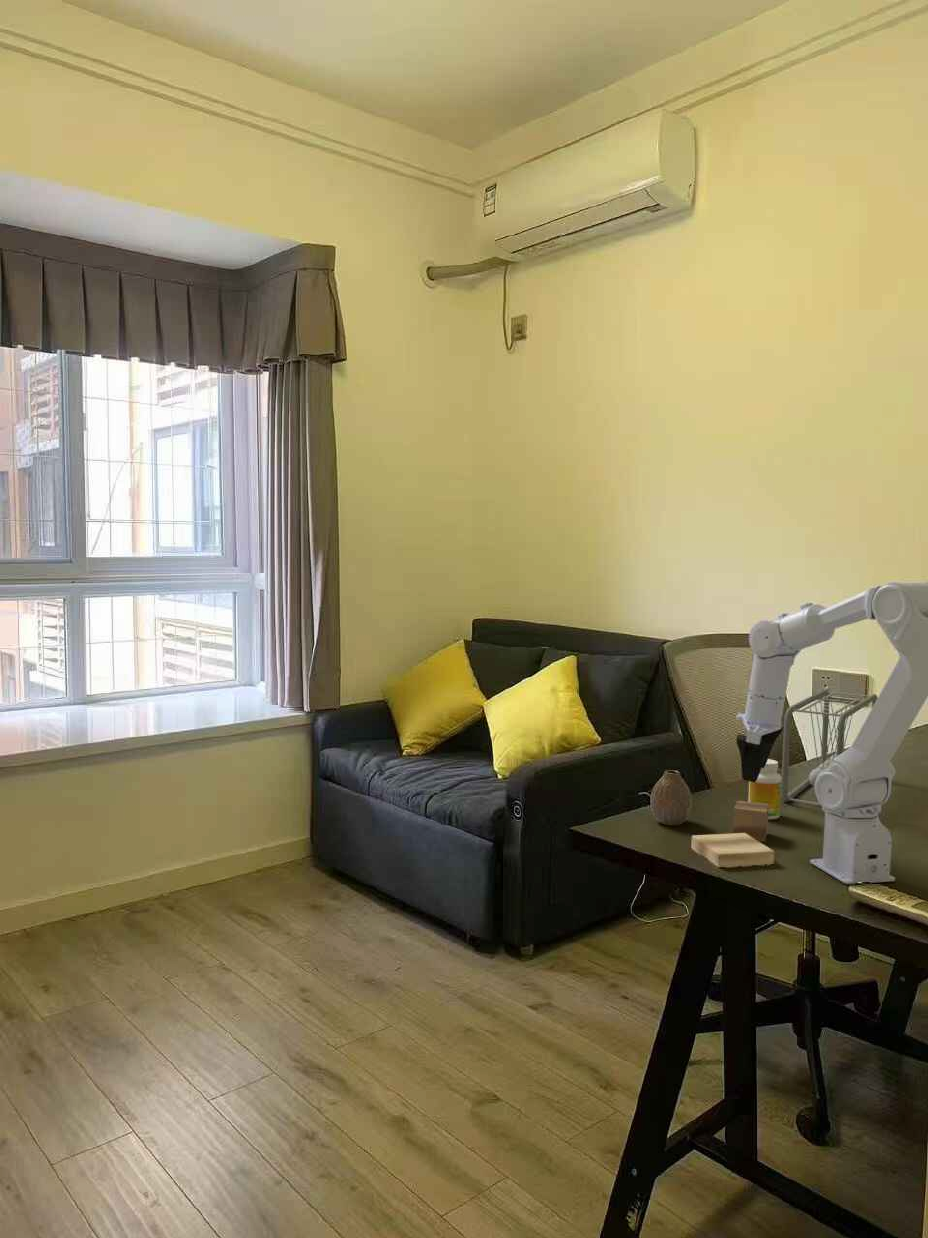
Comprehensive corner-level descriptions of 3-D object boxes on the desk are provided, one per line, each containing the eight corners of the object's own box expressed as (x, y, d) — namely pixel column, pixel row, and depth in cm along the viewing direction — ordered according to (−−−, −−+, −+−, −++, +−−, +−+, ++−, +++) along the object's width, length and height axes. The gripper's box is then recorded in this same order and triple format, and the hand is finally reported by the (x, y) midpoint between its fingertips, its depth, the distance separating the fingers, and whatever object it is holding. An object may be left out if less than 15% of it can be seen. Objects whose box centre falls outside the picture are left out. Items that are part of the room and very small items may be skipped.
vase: (696, 820, 168) (698, 770, 168) (683, 831, 162) (685, 778, 162) (657, 814, 172) (659, 764, 171) (643, 824, 166) (645, 773, 165)
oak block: (773, 867, 147) (774, 851, 146) (717, 871, 145) (718, 854, 145) (744, 848, 155) (744, 832, 155) (691, 851, 154) (691, 835, 153)
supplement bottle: (781, 821, 169) (784, 765, 168) (749, 819, 170) (751, 763, 169) (778, 812, 174) (780, 758, 173) (746, 810, 175) (748, 756, 174)
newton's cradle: (839, 814, 174) (844, 715, 172) (779, 804, 180) (784, 708, 178) (874, 779, 199) (879, 693, 197) (820, 772, 205) (825, 687, 203)
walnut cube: (765, 842, 157) (766, 812, 157) (732, 838, 159) (734, 808, 159) (767, 833, 162) (768, 804, 162) (735, 830, 164) (737, 800, 163)
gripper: (749, 678, 165) (737, 754, 168) (732, 699, 153) (719, 780, 156) (793, 687, 162) (779, 764, 165) (779, 709, 150) (765, 792, 153)
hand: (753, 773), depth 160 cm, fingers open, 7 cm apart
